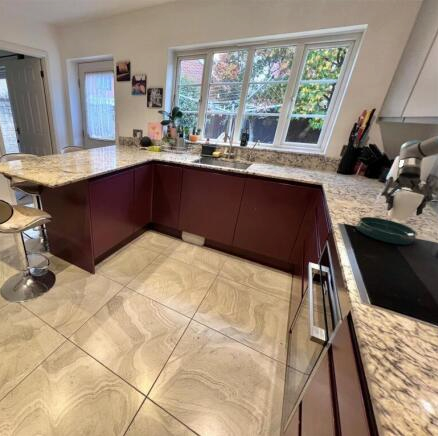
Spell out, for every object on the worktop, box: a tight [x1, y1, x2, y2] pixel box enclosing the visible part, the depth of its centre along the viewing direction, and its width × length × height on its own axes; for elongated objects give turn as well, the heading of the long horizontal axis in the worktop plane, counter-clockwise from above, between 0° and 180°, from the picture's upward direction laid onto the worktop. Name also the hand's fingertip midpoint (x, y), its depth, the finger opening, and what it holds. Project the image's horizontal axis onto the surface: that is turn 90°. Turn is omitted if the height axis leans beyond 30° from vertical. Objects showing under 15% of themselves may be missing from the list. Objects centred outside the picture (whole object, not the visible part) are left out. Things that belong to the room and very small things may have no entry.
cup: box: [387, 190, 424, 222], centre depth 106 cm, size 9×9×12 cm
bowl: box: [355, 216, 418, 246], centre depth 100 cm, size 18×18×4 cm
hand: (404, 211), depth 104 cm, fingers closed on cup, 9 cm apart
